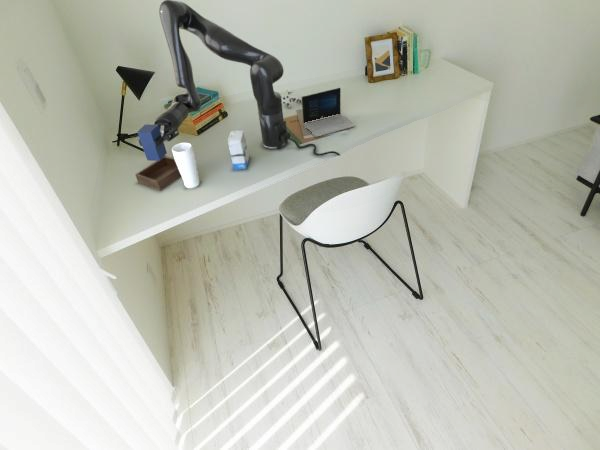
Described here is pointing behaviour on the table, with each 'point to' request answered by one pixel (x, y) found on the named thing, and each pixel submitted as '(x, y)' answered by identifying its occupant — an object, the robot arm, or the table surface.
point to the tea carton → (151, 142)
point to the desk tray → (159, 174)
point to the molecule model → (290, 99)
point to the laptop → (323, 112)
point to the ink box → (238, 149)
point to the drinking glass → (186, 164)
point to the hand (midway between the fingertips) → (148, 143)
